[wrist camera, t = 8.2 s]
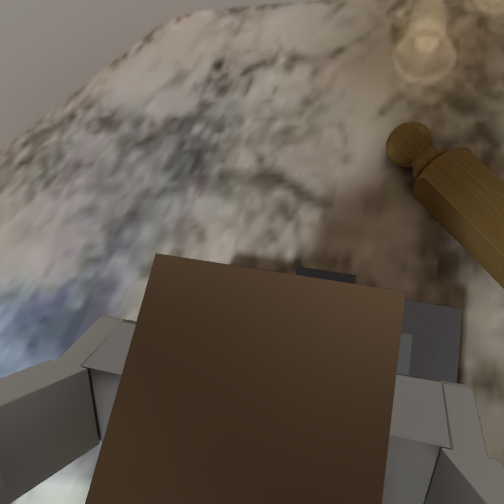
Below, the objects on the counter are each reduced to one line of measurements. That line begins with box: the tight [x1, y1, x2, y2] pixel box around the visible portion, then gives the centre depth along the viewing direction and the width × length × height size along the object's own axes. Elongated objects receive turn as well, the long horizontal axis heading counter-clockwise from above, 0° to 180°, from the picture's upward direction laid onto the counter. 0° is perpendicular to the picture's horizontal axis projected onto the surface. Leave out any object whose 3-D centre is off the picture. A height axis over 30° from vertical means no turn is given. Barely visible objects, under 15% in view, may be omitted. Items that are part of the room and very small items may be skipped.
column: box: [85, 253, 406, 504], centre depth 14 cm, size 4×4×15 cm
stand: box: [296, 267, 462, 383], centre depth 22 cm, size 14×14×10 cm
